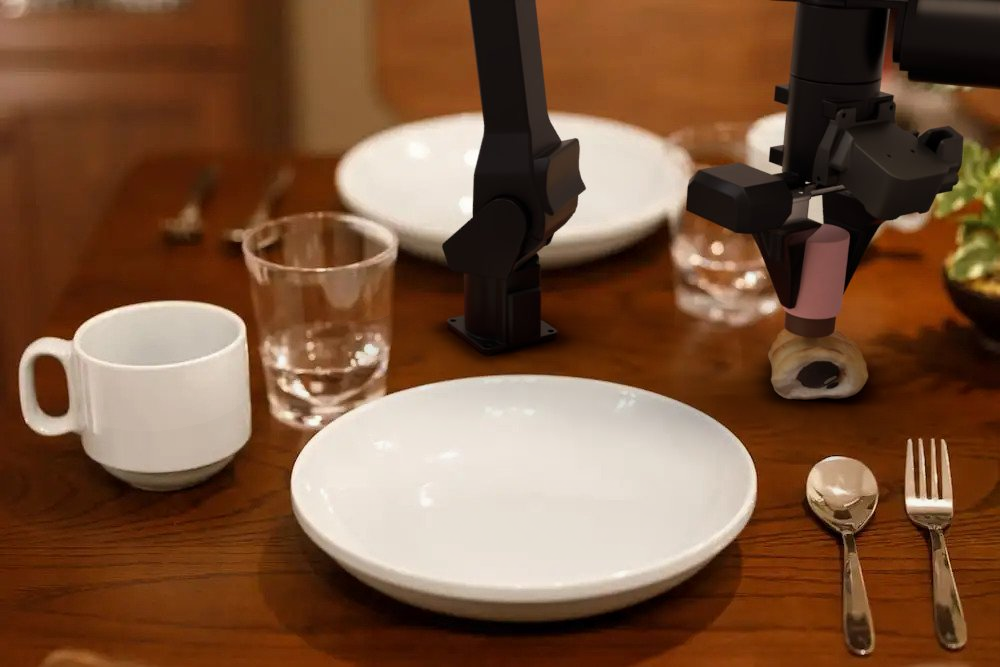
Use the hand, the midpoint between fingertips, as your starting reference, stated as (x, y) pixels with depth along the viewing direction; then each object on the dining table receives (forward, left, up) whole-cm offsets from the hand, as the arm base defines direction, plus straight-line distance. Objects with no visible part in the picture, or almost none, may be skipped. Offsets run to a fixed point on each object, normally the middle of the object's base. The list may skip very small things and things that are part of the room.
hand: (811, 301), depth 89 cm
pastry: (-1, +2, -7) cm, 7 cm away
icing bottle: (0, 0, -2) cm, 2 cm away
